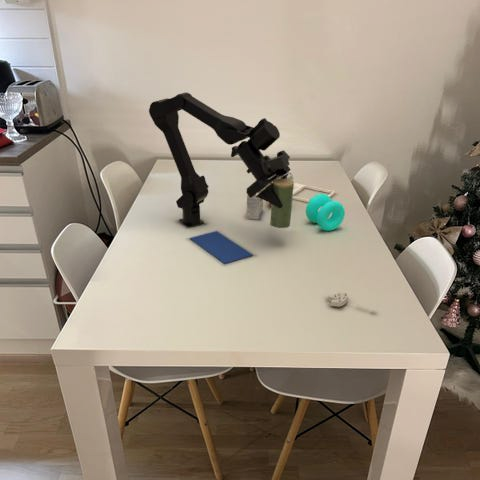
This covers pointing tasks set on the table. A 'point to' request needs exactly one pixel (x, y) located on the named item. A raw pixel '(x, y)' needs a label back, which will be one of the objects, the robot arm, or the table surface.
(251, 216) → the medicine box
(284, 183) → the tea tin
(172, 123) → the robot arm
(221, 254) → the blue mat
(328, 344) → the table surface
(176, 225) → the table surface
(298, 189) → the photo frame
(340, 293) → the game controller
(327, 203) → the donuts
